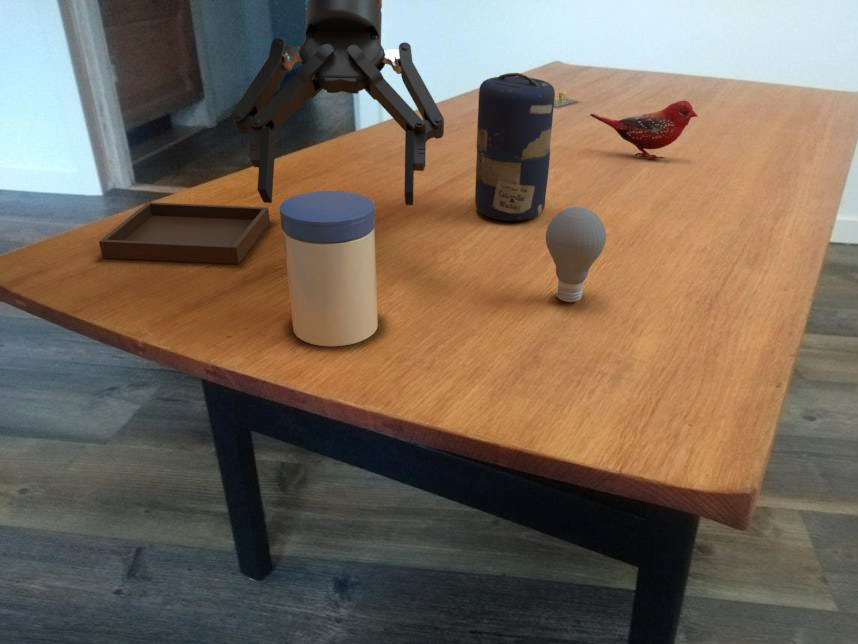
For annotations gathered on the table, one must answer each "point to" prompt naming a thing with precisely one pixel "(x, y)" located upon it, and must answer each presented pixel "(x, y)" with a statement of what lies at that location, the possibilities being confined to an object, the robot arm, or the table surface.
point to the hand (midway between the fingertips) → (337, 198)
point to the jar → (332, 289)
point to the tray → (186, 233)
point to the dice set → (562, 99)
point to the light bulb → (574, 248)
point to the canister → (513, 146)
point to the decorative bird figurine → (653, 127)
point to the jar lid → (327, 216)
